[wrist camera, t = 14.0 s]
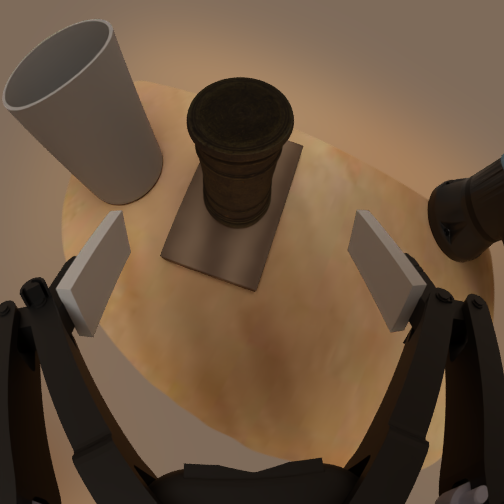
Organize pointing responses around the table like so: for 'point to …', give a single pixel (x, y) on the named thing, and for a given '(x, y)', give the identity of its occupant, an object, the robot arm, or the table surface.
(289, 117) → the container
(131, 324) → the table surface
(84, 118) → the cylinder vase
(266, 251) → the shelf board
